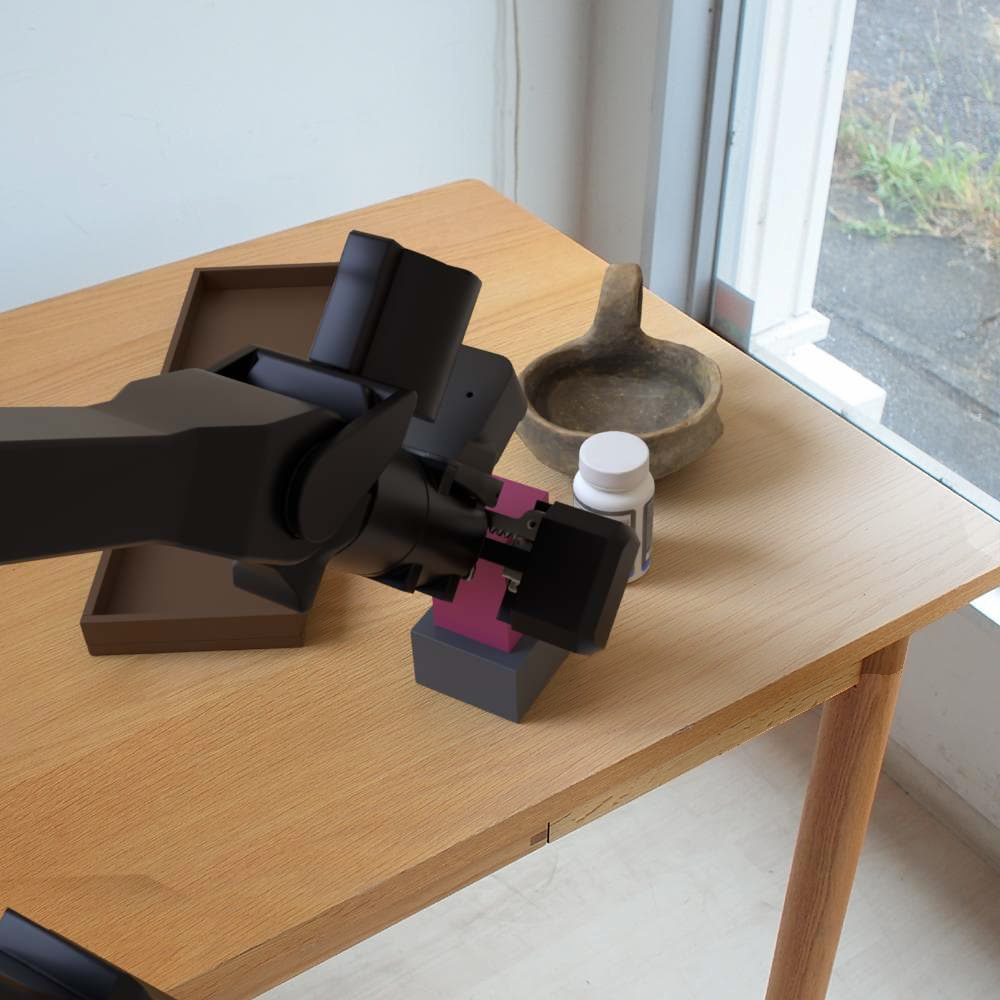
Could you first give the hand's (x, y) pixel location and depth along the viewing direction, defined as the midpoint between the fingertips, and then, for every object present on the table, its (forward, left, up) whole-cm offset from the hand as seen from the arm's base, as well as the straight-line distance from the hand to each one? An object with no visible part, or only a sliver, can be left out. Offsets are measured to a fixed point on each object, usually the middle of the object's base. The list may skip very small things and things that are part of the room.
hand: (503, 554), depth 70 cm
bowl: (+21, +5, -7) cm, 22 cm away
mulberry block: (-1, 0, -3) cm, 3 cm away
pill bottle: (+10, -1, -7) cm, 12 cm away
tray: (+7, +27, -7) cm, 29 cm away
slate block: (-1, 0, -7) cm, 7 cm away
